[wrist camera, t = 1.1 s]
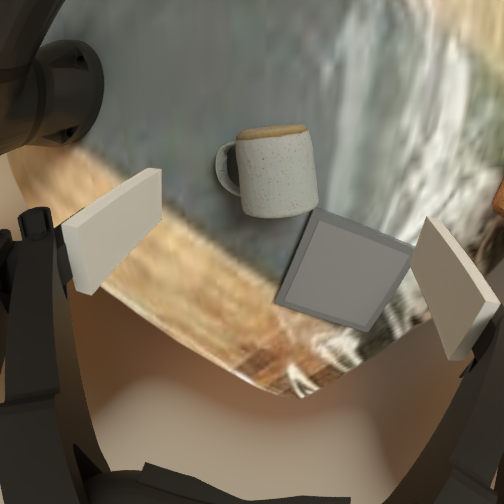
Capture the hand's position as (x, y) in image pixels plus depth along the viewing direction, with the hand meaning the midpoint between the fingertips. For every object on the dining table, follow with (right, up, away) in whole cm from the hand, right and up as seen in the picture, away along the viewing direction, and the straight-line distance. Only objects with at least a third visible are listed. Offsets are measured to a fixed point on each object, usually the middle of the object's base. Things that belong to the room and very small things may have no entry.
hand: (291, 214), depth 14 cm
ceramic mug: (0, +8, +19) cm, 20 cm away
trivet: (+10, -5, +23) cm, 25 cm away
